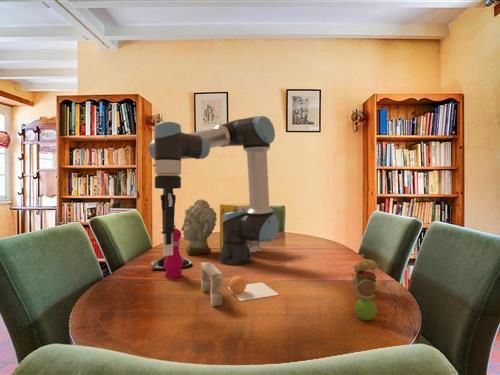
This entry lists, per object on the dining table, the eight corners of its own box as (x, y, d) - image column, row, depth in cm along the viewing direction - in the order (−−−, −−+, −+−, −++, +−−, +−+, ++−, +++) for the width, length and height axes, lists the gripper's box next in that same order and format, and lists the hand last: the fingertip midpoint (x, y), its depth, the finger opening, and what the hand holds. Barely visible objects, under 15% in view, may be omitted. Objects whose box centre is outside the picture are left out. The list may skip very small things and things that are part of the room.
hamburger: (366, 296, 92) (366, 258, 92) (349, 289, 99) (349, 253, 99) (383, 292, 96) (383, 255, 96) (365, 286, 102) (365, 251, 102)
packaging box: (238, 255, 148) (238, 205, 148) (219, 250, 160) (219, 204, 160) (261, 250, 159) (261, 204, 159) (242, 246, 171) (242, 203, 171)
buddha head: (179, 250, 160) (179, 199, 160) (213, 248, 166) (213, 198, 166) (182, 257, 144) (182, 200, 144) (219, 254, 150) (219, 199, 150)
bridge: (209, 289, 99) (209, 261, 99) (222, 305, 86) (222, 273, 86) (201, 290, 98) (201, 262, 98) (212, 306, 85) (212, 274, 85)
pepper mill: (177, 279, 110) (177, 225, 110) (160, 278, 111) (160, 225, 111) (185, 273, 117) (185, 223, 117) (169, 272, 118) (169, 223, 118)
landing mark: (262, 282, 106) (262, 282, 106) (278, 295, 93) (278, 294, 93) (227, 287, 101) (227, 286, 101) (240, 301, 89) (240, 300, 89)
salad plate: (145, 262, 136) (145, 252, 136) (184, 258, 143) (184, 249, 143) (151, 273, 118) (151, 262, 118) (195, 268, 126) (195, 257, 126)
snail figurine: (347, 315, 79) (347, 270, 79) (370, 314, 79) (370, 270, 79) (356, 324, 73) (356, 276, 73) (380, 323, 74) (380, 276, 74)
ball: (223, 283, 96) (235, 294, 98) (228, 288, 91) (240, 299, 93) (234, 270, 98) (245, 281, 99) (240, 275, 93) (251, 285, 94)
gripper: (153, 175, 92) (153, 251, 92) (156, 174, 79) (156, 261, 80) (177, 176, 94) (177, 249, 94) (184, 174, 82) (184, 258, 82)
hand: (168, 254), depth 87 cm, fingers closed
